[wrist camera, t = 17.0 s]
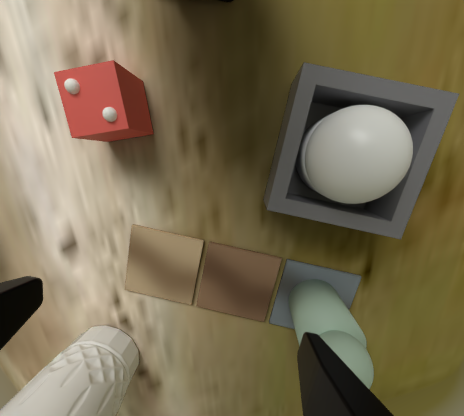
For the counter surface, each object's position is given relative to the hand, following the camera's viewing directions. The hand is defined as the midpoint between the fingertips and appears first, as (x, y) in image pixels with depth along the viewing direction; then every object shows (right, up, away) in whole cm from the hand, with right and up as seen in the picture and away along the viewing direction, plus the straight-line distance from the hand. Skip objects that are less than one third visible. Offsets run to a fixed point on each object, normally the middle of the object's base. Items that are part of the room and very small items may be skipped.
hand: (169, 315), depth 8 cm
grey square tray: (+10, +8, +10) cm, 16 cm away
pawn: (+9, -5, +13) cm, 17 cm away
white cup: (-11, -11, +16) cm, 23 cm away
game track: (+3, -3, +13) cm, 14 cm away
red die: (-7, +11, +11) cm, 17 cm away
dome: (+10, +7, +10) cm, 16 cm away
